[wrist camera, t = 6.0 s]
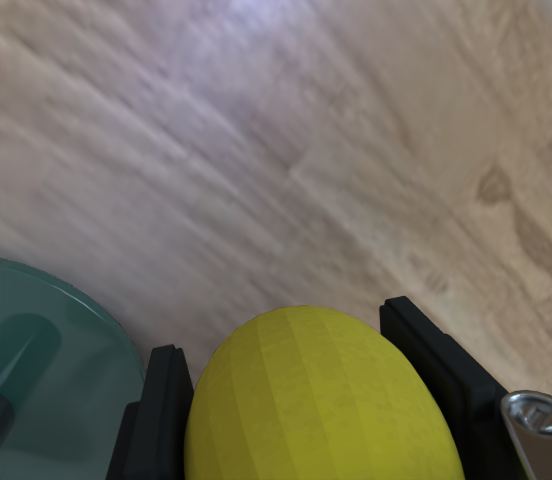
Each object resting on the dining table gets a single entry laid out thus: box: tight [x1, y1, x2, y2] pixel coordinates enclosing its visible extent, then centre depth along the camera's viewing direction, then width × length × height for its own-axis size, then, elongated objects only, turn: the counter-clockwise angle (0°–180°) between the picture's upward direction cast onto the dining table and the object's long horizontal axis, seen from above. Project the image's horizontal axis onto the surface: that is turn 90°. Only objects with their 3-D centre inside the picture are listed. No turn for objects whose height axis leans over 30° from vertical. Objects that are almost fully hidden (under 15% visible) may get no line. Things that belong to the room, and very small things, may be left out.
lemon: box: [184, 305, 465, 480], centre depth 9 cm, size 6×6×8 cm
